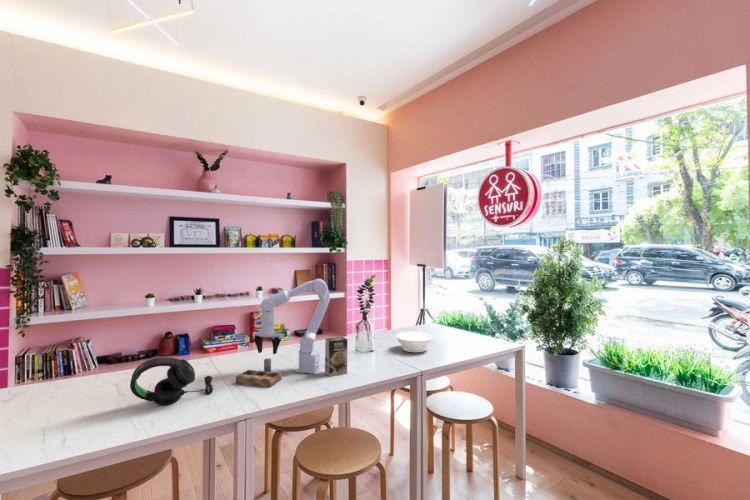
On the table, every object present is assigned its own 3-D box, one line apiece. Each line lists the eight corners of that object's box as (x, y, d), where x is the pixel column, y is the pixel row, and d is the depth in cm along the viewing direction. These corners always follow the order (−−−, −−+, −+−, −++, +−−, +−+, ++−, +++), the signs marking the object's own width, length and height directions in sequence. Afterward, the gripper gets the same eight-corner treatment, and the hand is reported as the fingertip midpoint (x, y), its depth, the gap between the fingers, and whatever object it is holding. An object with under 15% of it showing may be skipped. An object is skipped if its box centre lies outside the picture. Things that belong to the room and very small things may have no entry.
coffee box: (329, 376, 157) (329, 341, 157) (324, 372, 163) (324, 338, 163) (347, 373, 161) (347, 339, 161) (342, 369, 167) (342, 336, 167)
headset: (198, 418, 135) (117, 401, 119) (200, 392, 146) (125, 373, 130) (225, 385, 133) (146, 363, 117) (224, 360, 144) (152, 337, 128)
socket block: (281, 379, 153) (281, 372, 153) (270, 387, 144) (270, 379, 144) (247, 376, 157) (248, 369, 157) (235, 383, 148) (235, 376, 148)
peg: (272, 372, 163) (272, 358, 163) (268, 374, 159) (268, 360, 159) (266, 371, 163) (266, 358, 163) (262, 374, 160) (262, 360, 160)
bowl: (388, 349, 201) (388, 335, 201) (412, 343, 215) (412, 330, 215) (416, 358, 186) (416, 342, 186) (439, 350, 200) (439, 336, 200)
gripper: (285, 322, 164) (285, 351, 164) (258, 321, 167) (258, 349, 167) (278, 326, 157) (278, 355, 157) (250, 324, 160) (249, 353, 160)
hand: (267, 352), depth 162 cm, fingers open, 7 cm apart
